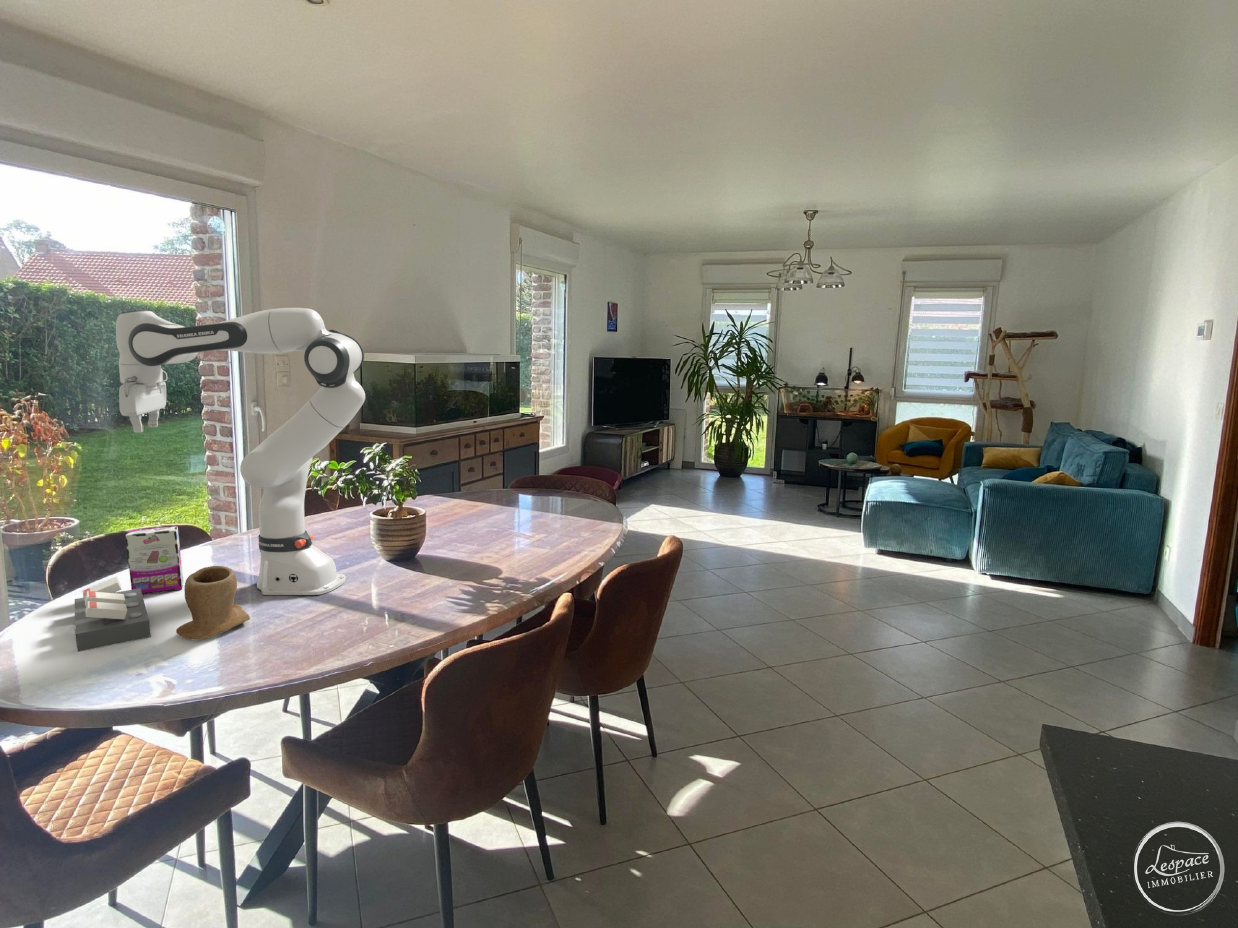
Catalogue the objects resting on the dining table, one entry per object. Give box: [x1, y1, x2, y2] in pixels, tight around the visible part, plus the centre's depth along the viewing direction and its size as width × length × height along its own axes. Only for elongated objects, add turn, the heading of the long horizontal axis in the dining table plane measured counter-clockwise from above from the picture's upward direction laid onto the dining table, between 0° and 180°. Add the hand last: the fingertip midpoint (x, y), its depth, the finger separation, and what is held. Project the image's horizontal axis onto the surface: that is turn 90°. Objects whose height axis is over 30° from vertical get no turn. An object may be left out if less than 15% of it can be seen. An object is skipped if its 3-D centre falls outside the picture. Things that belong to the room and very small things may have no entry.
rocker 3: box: [85, 601, 127, 619], centre depth 153 cm, size 7×4×2 cm, turn 128°
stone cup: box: [175, 565, 251, 641], centre depth 158 cm, size 15×12×15 cm
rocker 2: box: [85, 591, 125, 606], centre depth 159 cm, size 7×4×2 cm, turn 128°
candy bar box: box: [125, 525, 185, 596], centre depth 181 cm, size 11×5×16 cm, turn 117°
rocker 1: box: [82, 576, 122, 600], centre depth 164 cm, size 7×4×2 cm, turn 127°
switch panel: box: [74, 588, 152, 652], centre depth 160 cm, size 13×24×5 cm, turn 38°
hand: (146, 429), depth 178 cm, fingers open, 8 cm apart
